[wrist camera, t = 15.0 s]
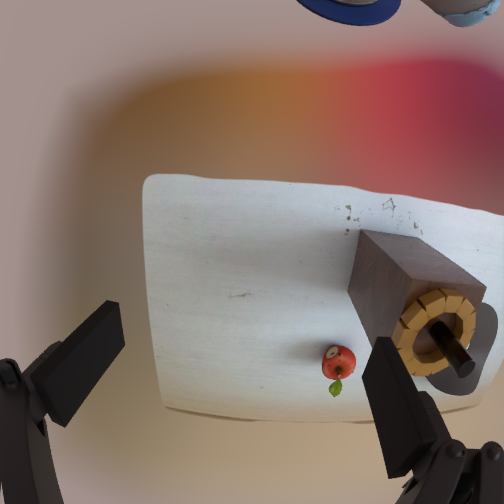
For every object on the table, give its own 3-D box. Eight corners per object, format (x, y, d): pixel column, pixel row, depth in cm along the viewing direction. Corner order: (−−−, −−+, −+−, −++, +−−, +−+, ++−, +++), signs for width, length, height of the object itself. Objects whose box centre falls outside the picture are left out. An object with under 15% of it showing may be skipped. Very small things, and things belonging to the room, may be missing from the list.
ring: (409, 284, 27) (416, 292, 25) (479, 291, 26) (487, 299, 24) (379, 366, 30) (383, 377, 29) (447, 365, 30) (453, 373, 28)
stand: (360, 229, 48) (412, 279, 27) (418, 238, 47) (486, 286, 26) (347, 291, 51) (380, 368, 31) (403, 296, 51) (453, 366, 30)
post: (433, 320, 28) (463, 360, 20) (448, 320, 28) (479, 359, 20) (426, 337, 29) (453, 379, 21) (441, 337, 29) (469, 377, 21)
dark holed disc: (510, 309, 49) (530, 327, 40) (476, 372, 55) (490, 393, 46) (449, 295, 50) (471, 316, 41) (410, 369, 56) (424, 396, 47)
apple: (319, 339, 55) (324, 371, 46) (352, 335, 54) (363, 366, 45) (319, 367, 57) (324, 400, 48) (350, 363, 56) (359, 395, 47)
